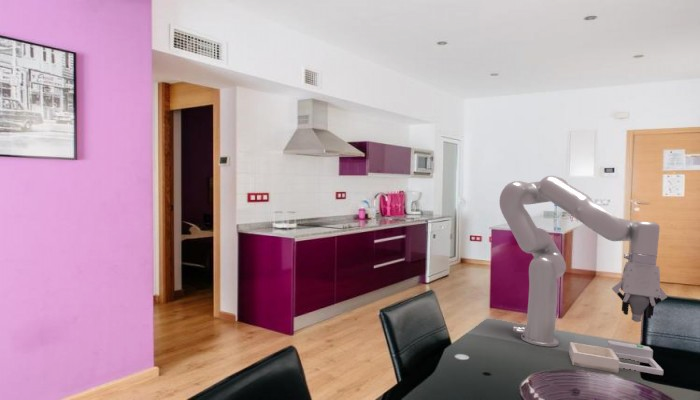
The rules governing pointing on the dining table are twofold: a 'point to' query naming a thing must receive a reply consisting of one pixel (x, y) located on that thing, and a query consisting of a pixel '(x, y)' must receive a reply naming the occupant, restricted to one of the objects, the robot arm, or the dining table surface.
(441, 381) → the dining table surface
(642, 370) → the tester cradle
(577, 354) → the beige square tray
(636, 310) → the light bulb
